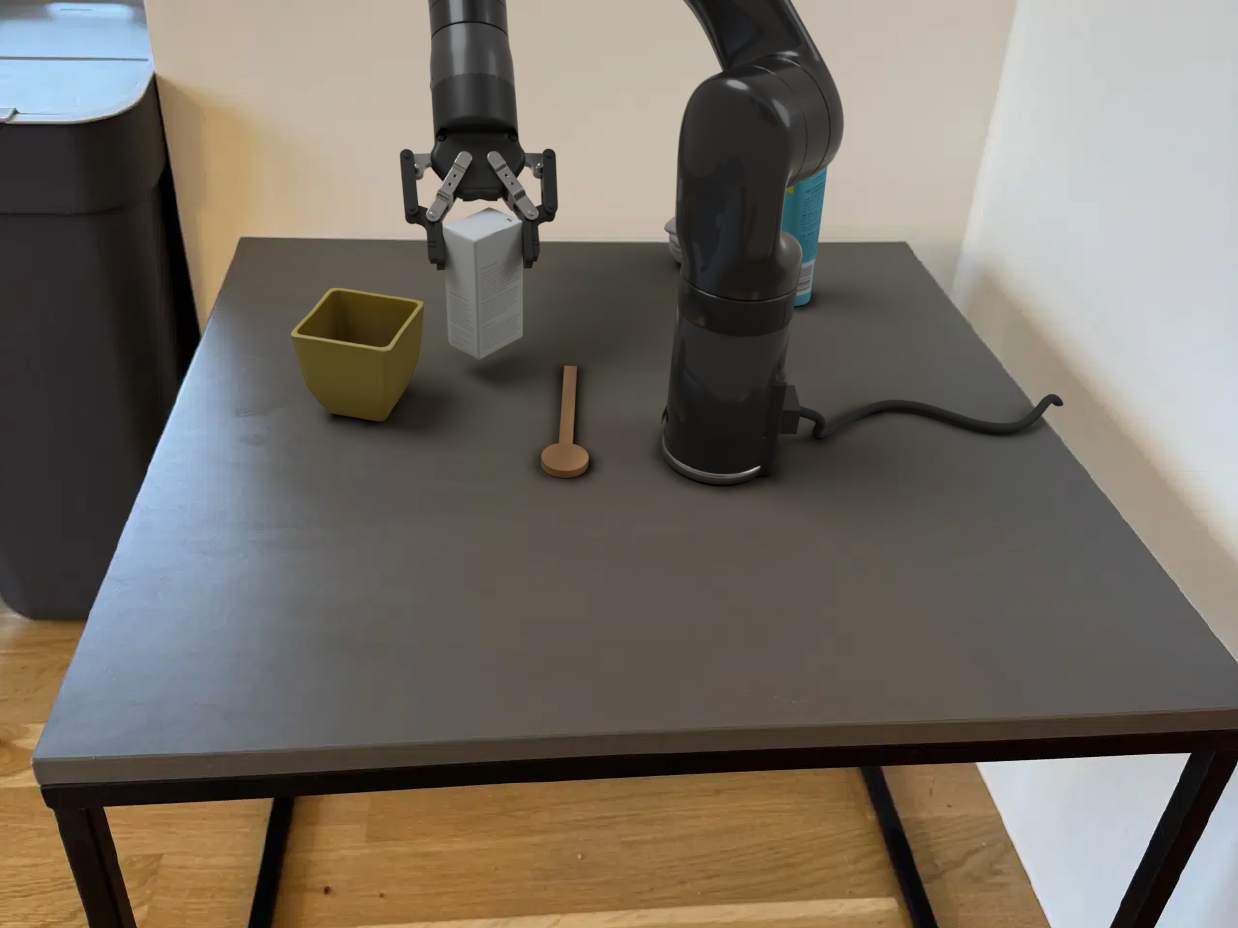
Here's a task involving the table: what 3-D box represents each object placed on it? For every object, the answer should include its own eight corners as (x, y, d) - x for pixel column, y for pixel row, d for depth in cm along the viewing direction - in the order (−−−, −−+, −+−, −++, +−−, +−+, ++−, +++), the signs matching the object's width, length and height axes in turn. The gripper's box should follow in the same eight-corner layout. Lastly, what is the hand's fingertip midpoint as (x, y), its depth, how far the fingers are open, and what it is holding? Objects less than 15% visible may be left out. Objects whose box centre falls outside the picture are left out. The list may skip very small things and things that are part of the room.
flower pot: (395, 440, 95) (389, 349, 90) (299, 423, 96) (287, 333, 91) (430, 387, 102) (425, 300, 97) (340, 372, 103) (331, 286, 98)
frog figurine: (724, 277, 124) (731, 219, 119) (661, 274, 123) (667, 216, 119) (719, 253, 128) (726, 196, 124) (659, 250, 128) (664, 193, 124)
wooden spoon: (591, 372, 106) (591, 364, 105) (587, 479, 92) (588, 471, 92) (549, 369, 106) (549, 362, 105) (539, 477, 92) (540, 469, 91)
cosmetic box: (491, 322, 106) (490, 205, 99) (523, 338, 104) (525, 220, 97) (445, 345, 102) (440, 225, 95) (477, 362, 100) (475, 241, 93)
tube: (778, 278, 124) (805, 109, 113) (819, 290, 122) (851, 119, 111) (754, 305, 119) (779, 129, 107) (796, 317, 117) (827, 140, 106)
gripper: (390, 69, 94) (401, 255, 92) (557, 70, 97) (571, 251, 95) (393, 109, 102) (403, 282, 99) (548, 109, 104) (561, 278, 102)
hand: (485, 266), depth 97 cm, fingers closed on cosmetic box, 7 cm apart
